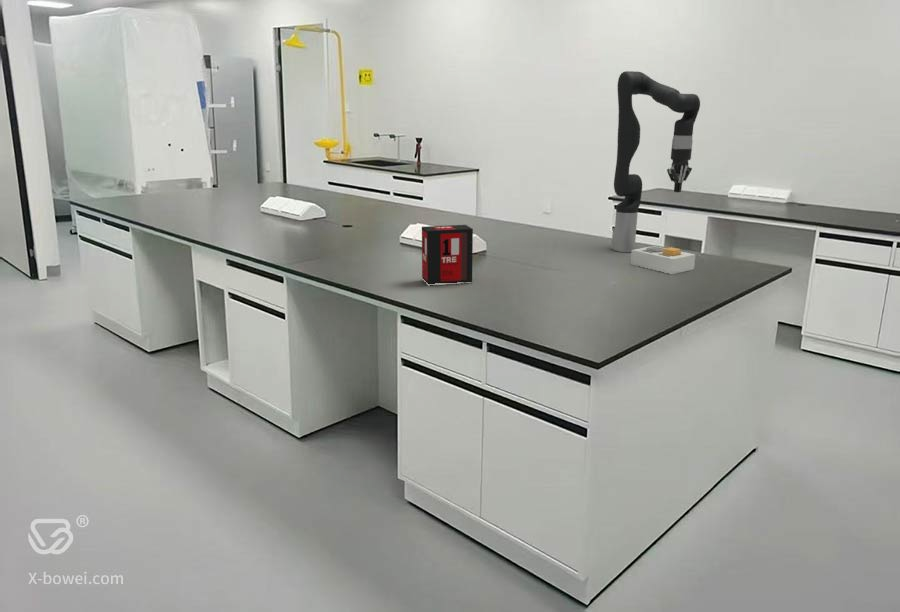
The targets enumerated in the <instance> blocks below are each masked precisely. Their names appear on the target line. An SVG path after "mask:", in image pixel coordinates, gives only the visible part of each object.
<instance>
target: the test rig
mask: <svg viewBox="0 0 900 612" xmlns="http://www.w3.org/2000/svg"><path fill="white" fill-rule="evenodd" d="M649 247H659V248H663V247H661V246H656V245H653V246H647V247H641V248H636V249H634V250H632V252H630V263H629V264H630V265H631V266H635V267H639V266H640V268H643V267H644V268H643V269H647V268H648V270H651V269H652V271H655V270H656V272H659V271H661V272H660V273H663V272H664V273H665V274H668V273H669V275H675V274H680V273H684V272H688V271H689V272H690V271H694V270H695V263H696V254H695V253H691V252H685V251H681V254H680V255H678V256H669V255H664V254H663V252H657V253H655V252H651V251H646V248H649Z"/></svg>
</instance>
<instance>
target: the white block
mask: <svg viewBox="0 0 900 612" xmlns="http://www.w3.org/2000/svg"><path fill="white" fill-rule="evenodd" d="M648 247H649V248H646V247H645V248H646V251H651V252H655V253H657V252H663V249H664V248H665V247H662V248H659V247H660V246H657V247H651V246H648Z"/></svg>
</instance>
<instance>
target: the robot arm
mask: <svg viewBox="0 0 900 612" xmlns="http://www.w3.org/2000/svg"><path fill="white" fill-rule="evenodd" d="M633 95H634V96H635V95H646V96H649V97H651V98H652V99H653V101H655V102H656V103H658V104H660V105H663V106H666V107H667V108H669V109H670V110H671V111H672V112H674V113H678V114H683V115H682V117H681V118H680V119H677V120H675V122H674V124H673V125H674V127H673V136H672V137H673V138H672V141H671V150H670V152H671V153H670V160H671V162H672V163H671V167H669V168H667V169H666V171H667V174H668V177H669V179H670V181H671V182H673V183H674V185H673V193H681V192H682V186H683V183H684V181H687V179H688V177H689V175H690V173H692V170H693V169H692V167H689V166H690V165H689V161H690V160H691V159H692V152H693V135H694V124H695V122H696V119H697V116H698V113H699V111H700V107H701V99H700V97H699V96H698V94H696V93H680V91H679V89H676V88H674V87H671V86H668V85H665V84H663V83H660V82H658V81H656V80H655V79H652V78H651V77H650V76H648V75H647V74H645V73H644V72H641V71H634V70H633V71H631V70H630V71H628V70H627V71H623V72H621V73H620V74H619V77H618V79H617V101H618V102H617V104H618V124H617V125H618V126H617V127H618V128H617V146H616V147H617V149H616V150H617V151H616V164H615V171H614V178H613V179H614V180H613V189H614V193H615V194H616V195H617V196H618V197H624V199H623V200H622V201H621V202H619V203H618V204H616V207H615V221H614V227H613V228H612V234H611V235H612V237H611V250H613V251H615V252H621V253H631V252H632V250H634V249H635V248H636V235H637V224H638V212H639V211H638V210H639V207H640V206H641V199H642V193H643V181H642V178H641V177H640V175H638V174H635V173H634V174H633V173H632V174H630V166H631V161H632V159H633V157H634V155H635V153H636V151H637V150H638V148H639V146H640V141H641V125H640V121H639V119H638V117H637V115H636V112H635V110H634V107H633Z"/></svg>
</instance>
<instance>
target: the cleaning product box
mask: <svg viewBox="0 0 900 612" xmlns="http://www.w3.org/2000/svg"><path fill="white" fill-rule="evenodd" d="M473 237H474V229H473V228H472V227H470V226H469V225H467V224H456V225H454V224H451V225H434V226H433V225H432V226H431V225H429V226H428V225H427V226H421V274H422V275H421V277H422V278H423V279H424V280H425V281H426V282H427V283H428V284H435V283H457V282H472V283H473V252H474V251H473V247H474V245H473V244H474V242H473ZM422 278H421V279H422Z"/></svg>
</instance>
